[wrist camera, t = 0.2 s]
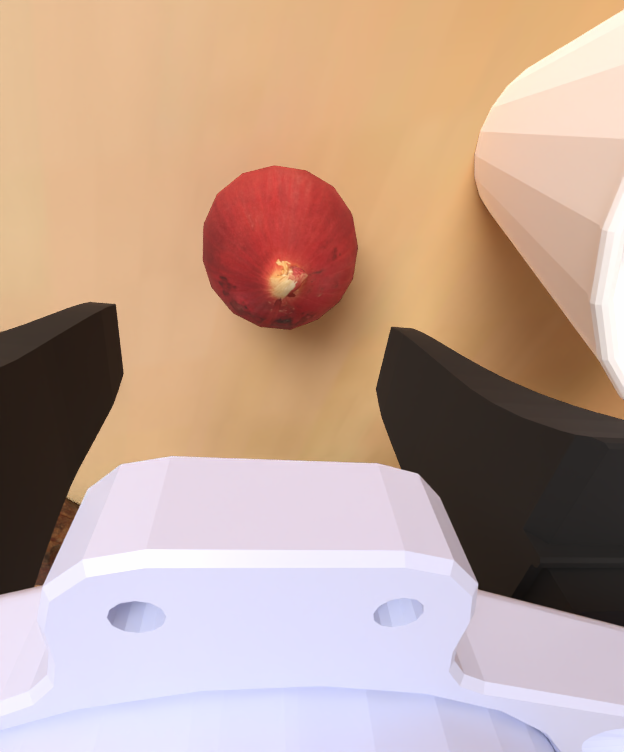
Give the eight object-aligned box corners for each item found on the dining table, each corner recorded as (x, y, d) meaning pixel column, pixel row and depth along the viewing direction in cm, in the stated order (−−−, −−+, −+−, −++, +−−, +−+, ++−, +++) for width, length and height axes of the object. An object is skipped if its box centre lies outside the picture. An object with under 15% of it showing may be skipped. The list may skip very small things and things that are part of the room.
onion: (330, 294, 22) (359, 382, 15) (211, 282, 21) (185, 369, 14) (352, 166, 19) (401, 203, 12) (215, 145, 18) (183, 172, 11)
